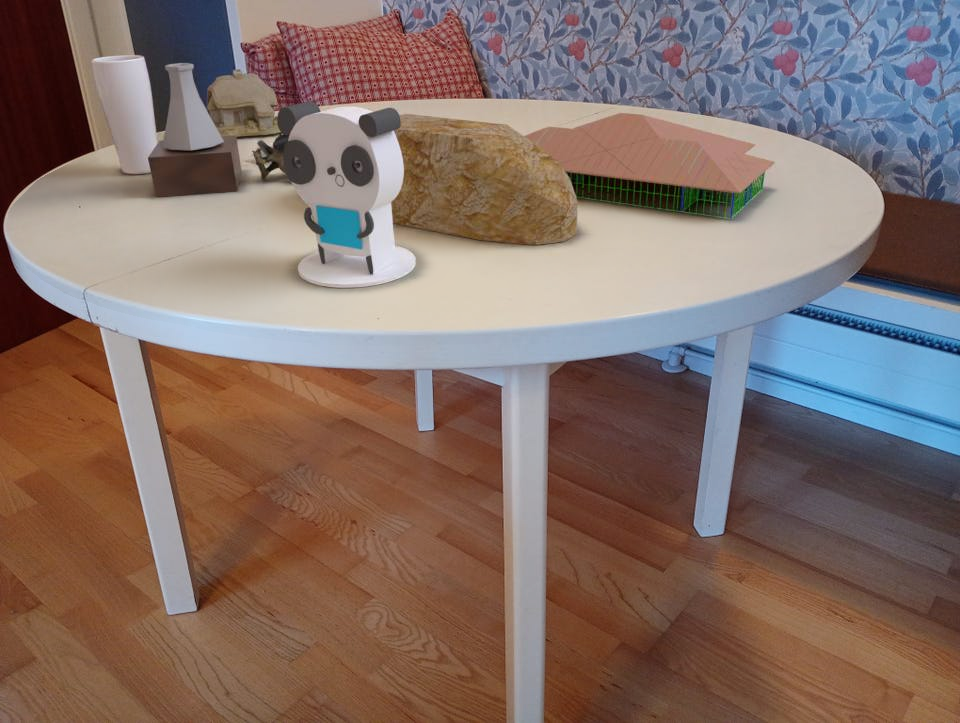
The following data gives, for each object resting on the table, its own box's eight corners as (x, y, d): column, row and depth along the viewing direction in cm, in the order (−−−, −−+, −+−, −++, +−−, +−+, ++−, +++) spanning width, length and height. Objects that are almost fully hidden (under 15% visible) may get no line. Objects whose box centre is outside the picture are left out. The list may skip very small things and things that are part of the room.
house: (558, 148, 122) (559, 91, 118) (787, 173, 106) (796, 108, 102) (477, 185, 104) (475, 120, 101) (736, 222, 89) (745, 146, 85)
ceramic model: (275, 122, 145) (266, 62, 140) (296, 133, 136) (289, 69, 131) (194, 132, 138) (182, 70, 134) (211, 144, 130) (200, 78, 125)
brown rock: (594, 223, 90) (598, 130, 85) (545, 252, 82) (546, 152, 77) (348, 181, 108) (341, 103, 103) (288, 202, 100) (277, 118, 95)
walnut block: (155, 197, 103) (147, 157, 101) (166, 177, 112) (159, 140, 110) (237, 191, 105) (231, 151, 103) (242, 172, 114) (236, 135, 111)
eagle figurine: (263, 183, 104) (331, 162, 105) (244, 130, 104) (312, 111, 106) (268, 200, 111) (332, 181, 113) (251, 151, 111) (315, 133, 113)
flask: (190, 154, 102) (174, 70, 97) (152, 149, 105) (135, 67, 101) (234, 143, 107) (221, 62, 103) (196, 137, 111) (182, 59, 106)
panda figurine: (268, 273, 79) (243, 112, 72) (344, 238, 87) (329, 92, 80) (366, 296, 73) (350, 124, 66) (438, 257, 81) (430, 101, 75)
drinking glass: (148, 162, 120) (125, 53, 113) (177, 168, 116) (155, 56, 109) (106, 172, 115) (79, 60, 108) (134, 179, 112) (109, 63, 105)
